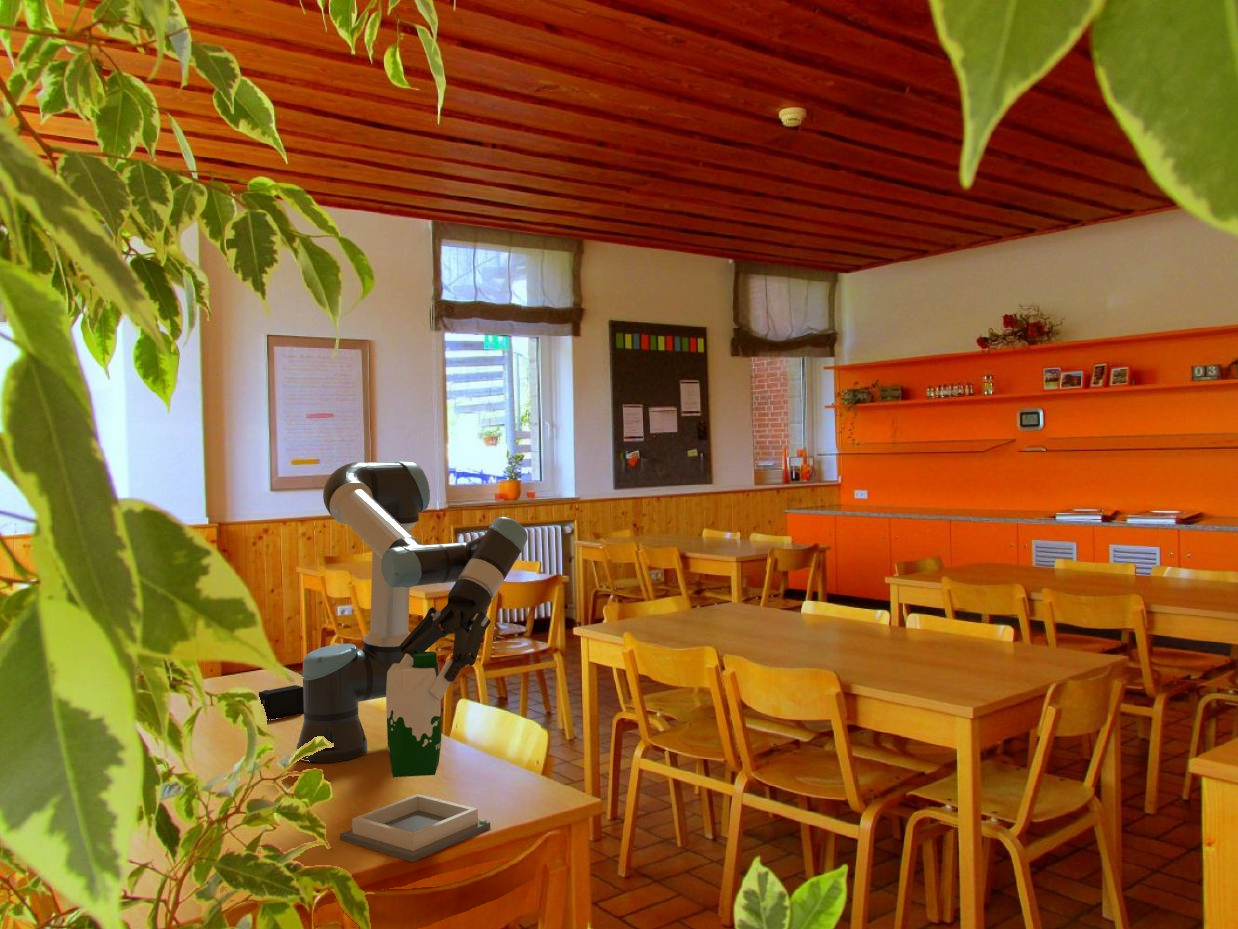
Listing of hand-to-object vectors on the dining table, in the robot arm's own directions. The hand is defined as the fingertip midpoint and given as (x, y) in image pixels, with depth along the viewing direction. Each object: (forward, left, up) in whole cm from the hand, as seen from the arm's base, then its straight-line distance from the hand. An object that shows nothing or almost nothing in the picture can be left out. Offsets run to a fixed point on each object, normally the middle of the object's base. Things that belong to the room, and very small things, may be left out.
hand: (413, 692), depth 176 cm
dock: (0, 0, -24) cm, 24 cm away
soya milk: (0, 0, -14) cm, 14 cm away
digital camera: (-93, +39, -25) cm, 104 cm away
